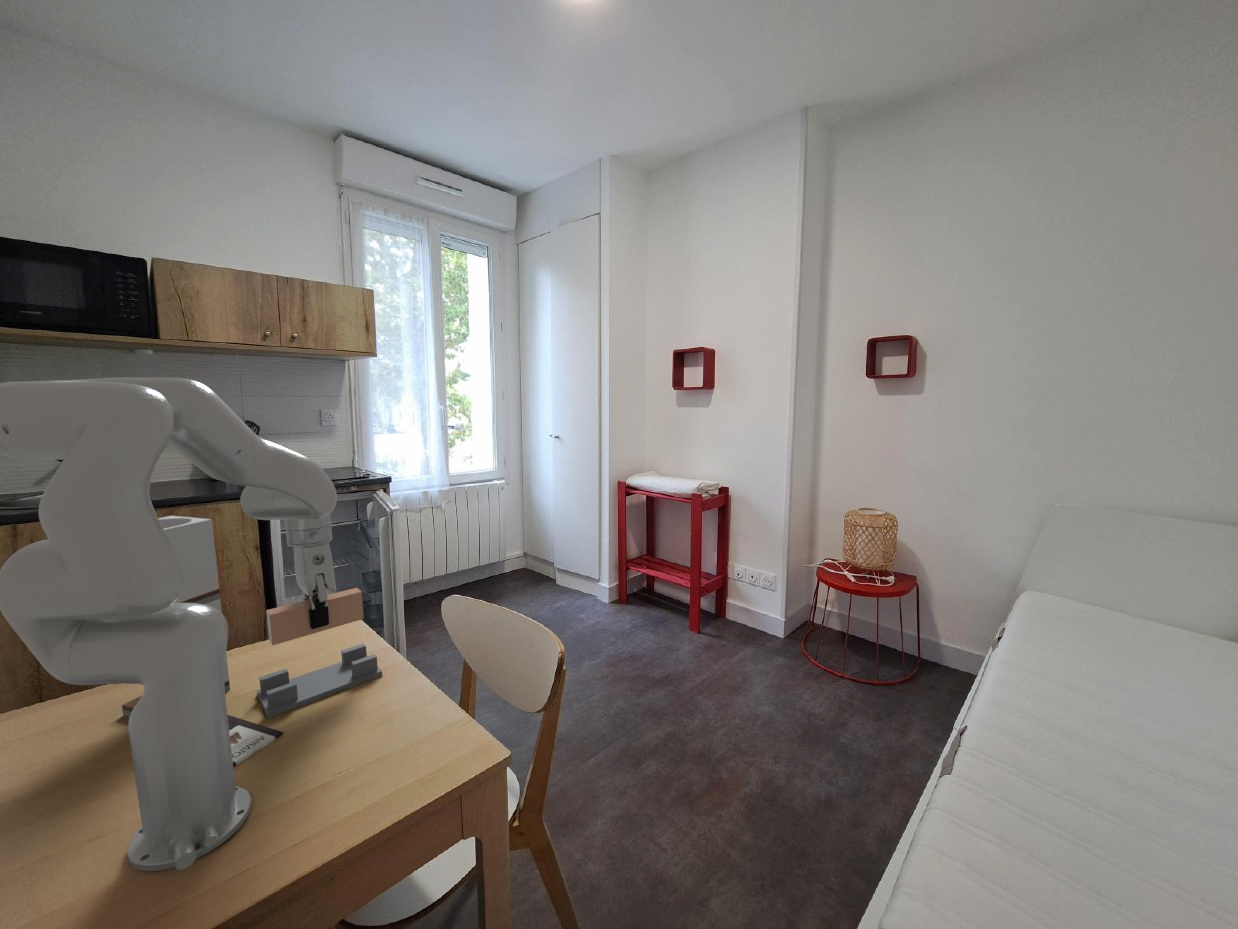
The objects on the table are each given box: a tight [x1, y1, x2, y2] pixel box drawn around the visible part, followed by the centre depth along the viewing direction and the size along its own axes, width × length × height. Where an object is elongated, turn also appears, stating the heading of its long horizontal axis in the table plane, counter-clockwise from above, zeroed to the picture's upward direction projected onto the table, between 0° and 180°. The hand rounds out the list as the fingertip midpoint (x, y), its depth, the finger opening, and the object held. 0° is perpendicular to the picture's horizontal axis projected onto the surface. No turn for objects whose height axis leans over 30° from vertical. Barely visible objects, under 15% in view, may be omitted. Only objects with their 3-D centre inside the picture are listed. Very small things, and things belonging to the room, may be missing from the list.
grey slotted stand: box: [256, 643, 383, 719], centre depth 100 cm, size 10×20×4 cm, turn 135°
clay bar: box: [265, 587, 365, 646], centre depth 99 cm, size 3×16×6 cm, turn 135°
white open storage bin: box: [121, 515, 231, 718], centre depth 92 cm, size 11×11×35 cm
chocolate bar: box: [227, 714, 284, 768], centre depth 84 cm, size 9×1×18 cm
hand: (317, 622), depth 99 cm, fingers closed on clay bar, 3 cm apart
